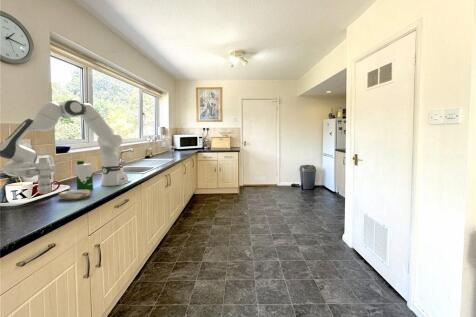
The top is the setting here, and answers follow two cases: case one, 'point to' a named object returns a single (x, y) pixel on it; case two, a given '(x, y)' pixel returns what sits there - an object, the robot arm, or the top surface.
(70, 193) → the disc
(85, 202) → the top surface
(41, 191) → the plastic bottle
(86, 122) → the robot arm
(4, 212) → the top surface
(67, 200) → the turntable base
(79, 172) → the milk carton
